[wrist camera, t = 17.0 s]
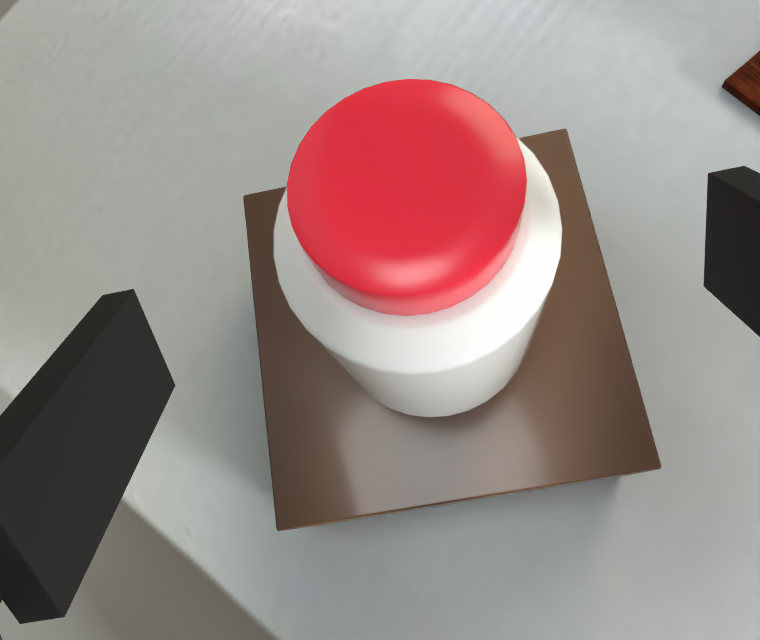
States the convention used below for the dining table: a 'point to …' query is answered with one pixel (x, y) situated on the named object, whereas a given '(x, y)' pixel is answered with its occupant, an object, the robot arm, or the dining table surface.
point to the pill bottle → (418, 244)
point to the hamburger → (746, 83)
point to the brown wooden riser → (462, 430)
